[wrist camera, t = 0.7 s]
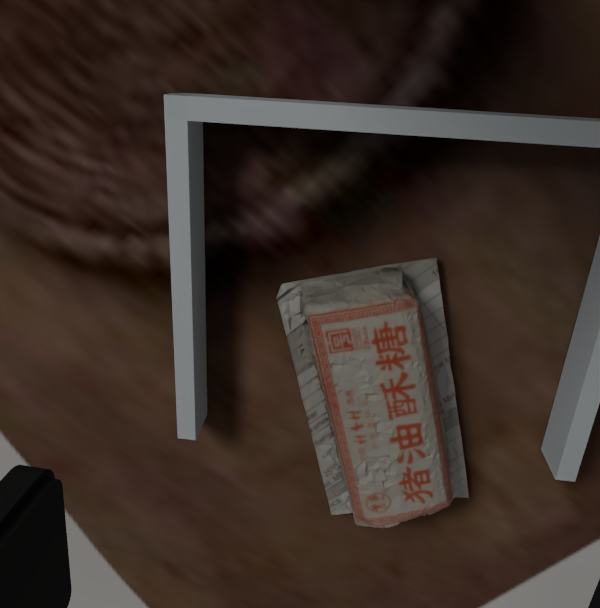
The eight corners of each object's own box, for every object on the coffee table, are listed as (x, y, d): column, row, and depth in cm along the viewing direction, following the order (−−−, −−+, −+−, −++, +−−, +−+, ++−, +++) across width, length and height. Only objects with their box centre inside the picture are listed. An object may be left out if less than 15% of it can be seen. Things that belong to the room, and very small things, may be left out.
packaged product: (263, 310, 31) (446, 279, 29) (275, 280, 35) (434, 251, 33) (328, 552, 37) (480, 539, 35) (331, 501, 41) (467, 487, 40)
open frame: (181, 92, 31) (163, 94, 28) (654, 121, 29) (685, 127, 26) (190, 412, 39) (177, 438, 36) (559, 451, 37) (575, 481, 34)
